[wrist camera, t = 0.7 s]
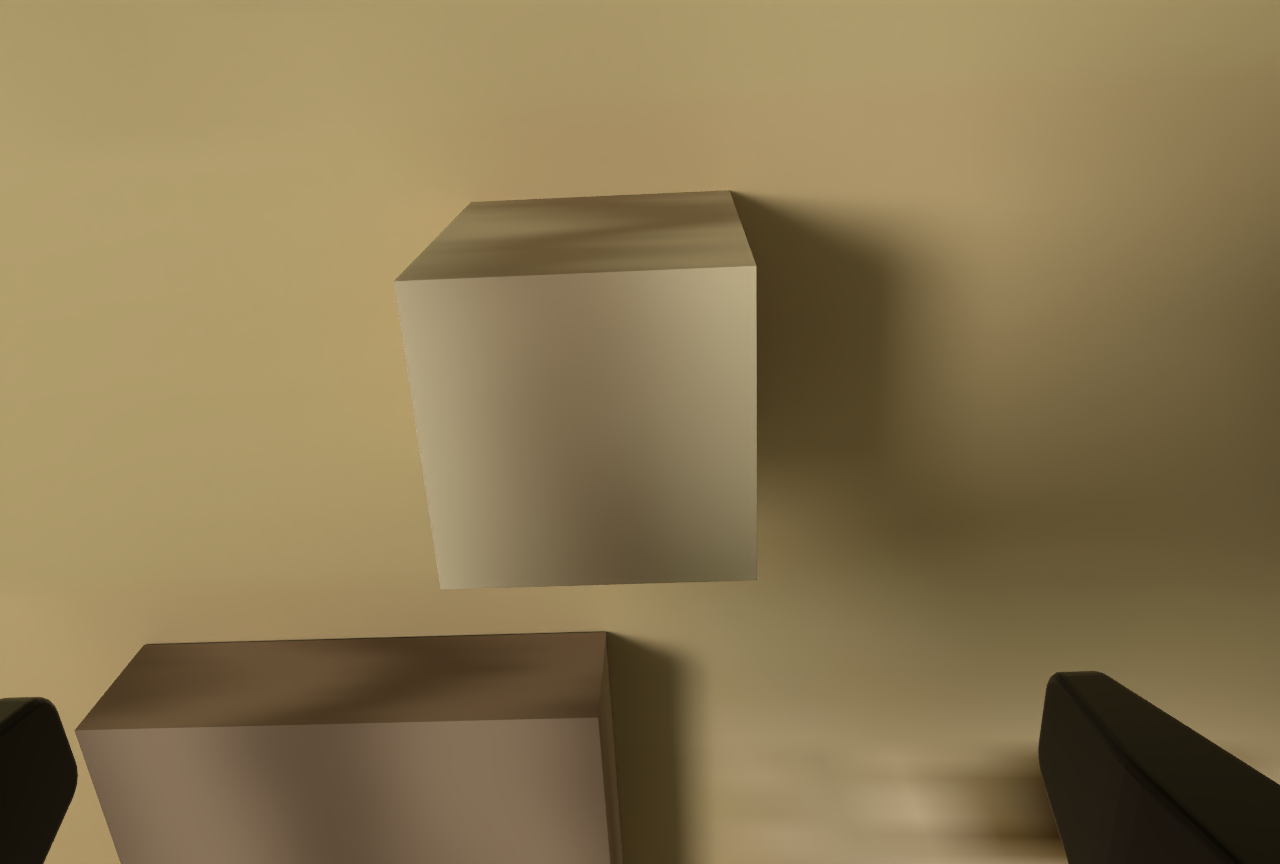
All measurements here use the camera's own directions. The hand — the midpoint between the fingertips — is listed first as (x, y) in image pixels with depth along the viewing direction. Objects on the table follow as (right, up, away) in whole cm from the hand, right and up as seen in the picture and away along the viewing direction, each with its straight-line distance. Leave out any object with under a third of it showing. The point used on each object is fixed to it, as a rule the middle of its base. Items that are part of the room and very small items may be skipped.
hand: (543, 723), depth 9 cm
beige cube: (0, +5, +11) cm, 12 cm away
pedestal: (-5, -7, +16) cm, 19 cm away
